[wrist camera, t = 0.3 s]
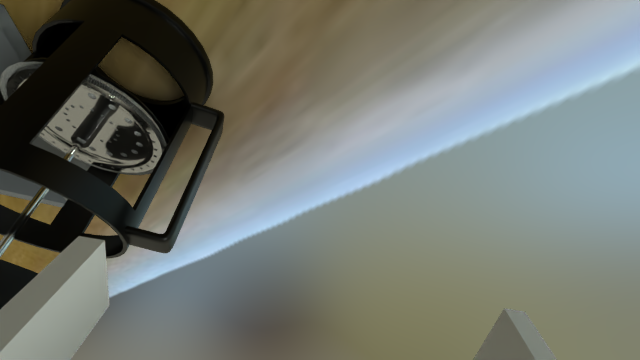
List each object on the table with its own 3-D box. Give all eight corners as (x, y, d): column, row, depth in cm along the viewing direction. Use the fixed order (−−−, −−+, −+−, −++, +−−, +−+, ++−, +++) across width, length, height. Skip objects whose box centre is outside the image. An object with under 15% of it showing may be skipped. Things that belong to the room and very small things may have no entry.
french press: (73, 82, 26) (-292, 501, 12) (26, -52, 18) (-1031, 649, 5) (230, 134, 28) (63, 542, 14) (248, 32, 20) (-71, 692, 7)
